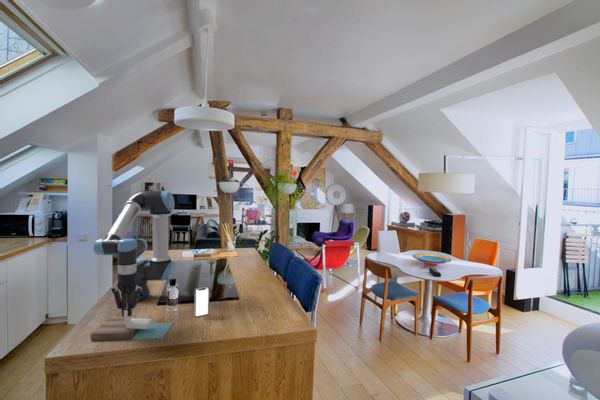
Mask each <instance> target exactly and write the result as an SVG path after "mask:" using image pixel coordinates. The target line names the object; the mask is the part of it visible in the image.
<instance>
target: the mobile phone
mask: <svg viewBox="0 0 600 400" xmlns="http://www.w3.org/2000/svg"><path fill="white" fill-rule="evenodd" d="M193 307H194V317H195V318H197V317H198V318H200V317H203V316H207V315H209V312H210V288H209V287H208V286H206V287H199V288H195V290H194V306H193Z"/></svg>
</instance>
